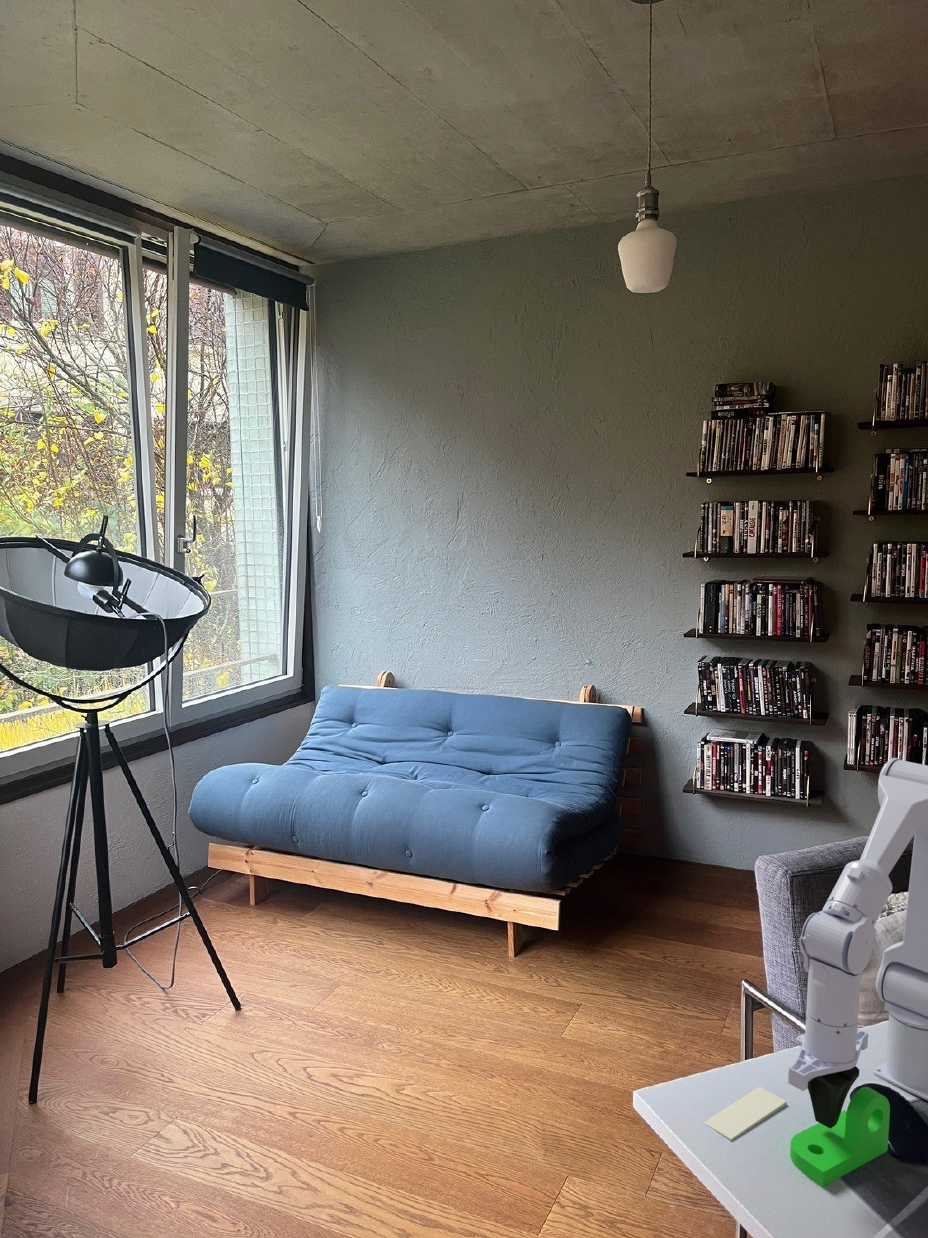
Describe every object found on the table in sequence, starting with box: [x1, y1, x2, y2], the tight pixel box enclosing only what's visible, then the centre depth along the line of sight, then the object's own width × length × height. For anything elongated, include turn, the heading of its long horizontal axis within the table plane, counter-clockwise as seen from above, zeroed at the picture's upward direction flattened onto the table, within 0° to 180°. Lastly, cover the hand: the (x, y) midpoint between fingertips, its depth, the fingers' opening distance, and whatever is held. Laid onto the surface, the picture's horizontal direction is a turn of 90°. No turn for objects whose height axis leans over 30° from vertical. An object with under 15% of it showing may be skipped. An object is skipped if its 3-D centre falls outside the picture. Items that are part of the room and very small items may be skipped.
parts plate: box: [703, 1086, 788, 1142], centre depth 118 cm, size 12×4×1 cm, turn 129°
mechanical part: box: [789, 1086, 891, 1188], centre depth 111 cm, size 12×6×8 cm, turn 122°
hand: (825, 1122), depth 113 cm, fingers closed
